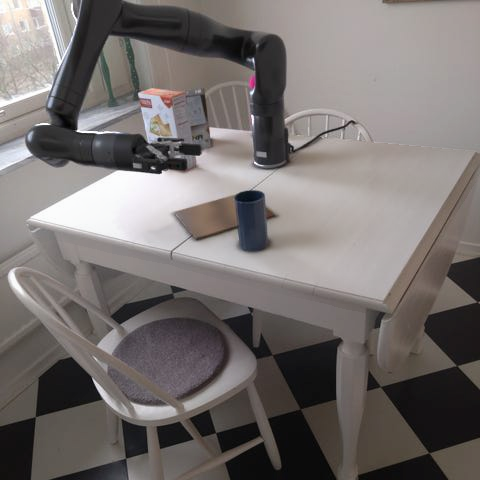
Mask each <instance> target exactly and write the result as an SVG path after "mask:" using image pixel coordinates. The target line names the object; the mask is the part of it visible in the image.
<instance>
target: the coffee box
mask: <svg viewBox="0 0 480 480" xmlns="http://www.w3.org/2000/svg"><path fill="white" fill-rule="evenodd" d="M184 92H185V94H186V100H187V106H188V113H189V119H190V125H191V132H192V138H193V144H200V145H201V149H204V148H205V149H206V148H211V147H212V141H211V140H212V139H211V130H210V129H211V128H210V122H209V114H208V107H207V97H206V92H205V87H199V88H190V89H185V90H184Z"/></svg>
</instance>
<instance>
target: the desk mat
mask: <svg viewBox="0 0 480 480" xmlns="http://www.w3.org/2000/svg"><path fill="white" fill-rule="evenodd" d="M235 195H236V194H233V195H229V196H226V197H222V198H219V199H215V200H211V201H207V202H204V203H200V204H197V205H194V206H190V207H187V208H183V209H180V210H175V211H173V215H174V216H175V217H176V218H177V220H178V221H179V222H180V223H181V225H183V226H184V227H185V229H186V230H187V231H188V232H189V233H190V235H191V236H192V237H193V238H194V239H195V240H196V241H198V240H201V239H204V238H207V237H208V238H209V237H210V236H214V235H217V234H221V233H223V232H224V233H225V232H227V231H231V230H234V229H238V228H237V218H236V209H235V200H234V197H235ZM275 216H276V214H275V213H274V212H272V211H271V210H270V209H269V208H267V207H266V219H267V220H268V219H270V218H273V217H275Z"/></svg>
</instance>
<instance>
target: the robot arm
mask: <svg viewBox="0 0 480 480" xmlns="http://www.w3.org/2000/svg"><path fill="white" fill-rule="evenodd" d="M71 12H72V15H73V17H74V19H75V21H76V22H75V26H74V30H73V33H72V35H71V39H70V41H69V43H68V46H67V47H66V51H65V53H64V55H63V57H62V59H61V61H60V63H59V66H58V68H57V70H56V73H55V74H54V76H53V77H54V78H53V81H52V83H51V86H50V89H49V92H48V94H47V98H46V100H45V105H44V109H45V112H46V114H47V115H48V117H49V118H50V123H40V124H39V123H38V124H35V125H33V126H32V127H30V128H29V129H28V131H26V133H25V136H24V143H25V147H26V149H27V150H28V152H29V153H30V154H31V155H32V156H33V157H35V158H37V159H38V160H41V161H42V162H44V163H46V164H47V165H48V166H51V167H52V168H56V169H60V168H63V167H66V166H67V165H69V163H70V162H72V163H74V164H76V165H78V166H82V167H89V168H90V167H91V168H100V169H105V170H108V171H109V170H110V171H122V172H133V173H144V174H152V175H162V174H163V172H168V171H169V170H171V171H179V170H180V171H179V172H182V171H184V172H187V171H188V170H189V169H188V164H187V159H185V158H175V156H178V155H192V156H195V157H200V156H201V155H202V153H203V152H202V148H201V145H200V144H188V143H184V139H182V138H161V137H159V138H157V141H154V142H151V143H148V140H147V139H146V138H145V136H144V135H143V134H141V133H135V132H118V131H104V132H103V131H101V132H100V131H99V132H98V131H82V130H81V131H80V130H79V118H80V116H81V113H82V111H83V107H84V104H85V101H86V98H87V95H88V92H89V89H90V86H91V83H92V80H93V77H94V73H95V71H96V67H97V64H98V62H99V60H100V56H101V54H102V52H103V49H104V47H105V45H106V43H107V41H108V39H109V37H117V38H123V39H124V38H125V39H131V40H135V41H139V42H141V43H145V44H149V45H153V46H156V47H159V48H163V49H166V50H169V51H174V52H177V53H179V54H185V55H188V56H192V57H199V58H210V59H211V58H212V59H222V60H227V61H230V62H231V63H235V64H237V65H239V66H243V67H244V68H246V69H249V70H251V71H253V72H254V75H255V86H254V88H252V89H251V88H250V90H249V108H250V123H251V122H252V125H251V134H252V146H253V147H252V148H253V164H254V166H255V167H257V168H260V169H276V168H280V167H282V166H284V165H286V164H287V163H289V162H290V154H292V153H295V152H298V151H300V150H302V149H304V148H305V147H307V146H309V145H310V144H312V143H314V142H315V141H316V140H317V139H319V138H320V137H322V136H324V135H326V134H329V133H333V132H336V131H340V130H343V129H345V128H347V127H348V126H349V125H350V124H356V122H355V120H353V119H350V120H349V121H347V123H345V124H344V125H342V126H339V127H334V128H331V129H328V130H325V131H323V132H320V133H319V134H316V136H315V137H313V138H312V139H311V140H308V141H307V142H305V143H304V144H303V145H301V146H300V147H297V148H296V149H295V146H294V145H293V144H291V142H289V128H288V127H286V116H285V91H286V89H287V81H288V80H287V75H288V74H287V73H288V72H287V70H288V68H287V67H288V63H287V62H288V61H287V60H288V59H287V48H286V44H285V41H284V40H283V38H282V37H281V36H279V35H278V34H276V33H273V32H267V31H261V30H249V29H243V28H237V27H233V26H229V25H227V24H225V23H223V22H221V21H219V20H217V19H216V18H214V17H212V16H210V15H207V14H206V13H203V12H200V11H198V10H194V9H191V8H188V7H184V6H180V5H173V4H139V3H134V2H130V1H127V0H71ZM175 146H179V148H178V147H175ZM168 151H169V152H170V153H168ZM174 151H176V152H174ZM167 159H168V160H167ZM187 169H188V170H187Z"/></svg>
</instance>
